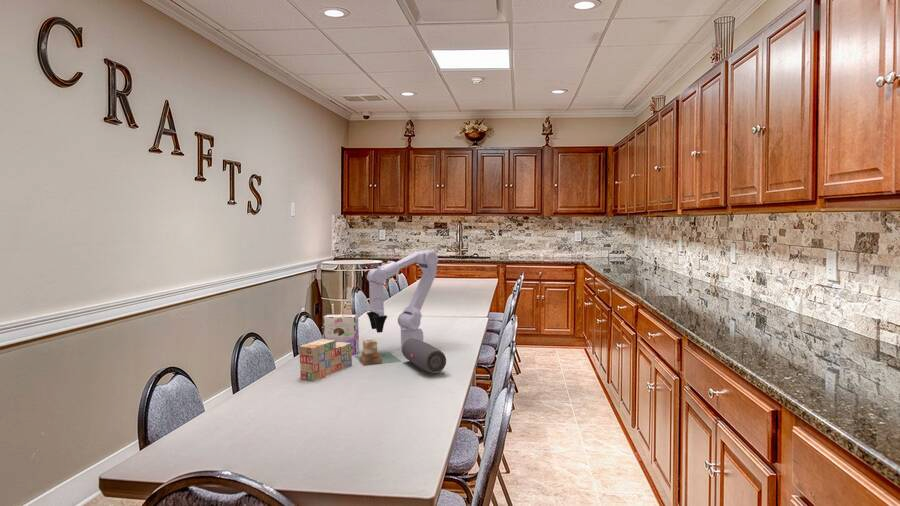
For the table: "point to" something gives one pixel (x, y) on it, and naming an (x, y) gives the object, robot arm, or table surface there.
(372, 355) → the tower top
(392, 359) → the cutting mat
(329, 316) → the candy box
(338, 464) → the table surface
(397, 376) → the table surface
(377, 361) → the tower base
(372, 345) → the oak block
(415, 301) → the robot arm
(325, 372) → the stack of blocks
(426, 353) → the bluetooth speaker
